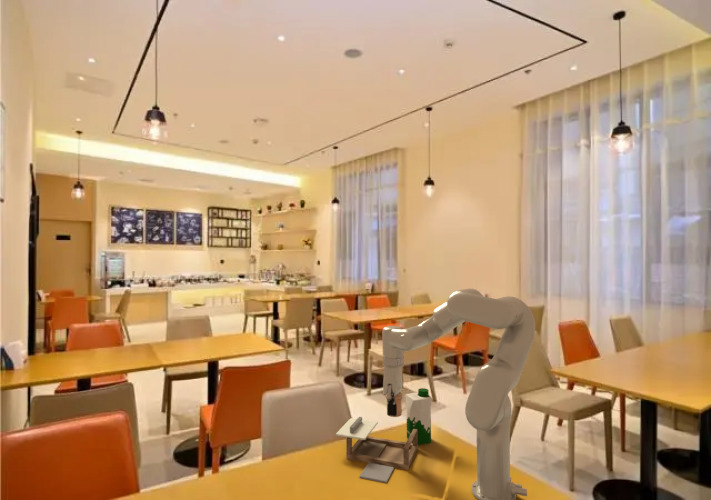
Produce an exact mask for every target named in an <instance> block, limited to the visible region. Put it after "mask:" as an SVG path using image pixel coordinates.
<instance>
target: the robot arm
mask: <svg viewBox="0 0 711 500" xmlns="http://www.w3.org/2000/svg"><path fill="white" fill-rule="evenodd" d="M465 322H468V323H471V324H474V325H479V326H483V327H486V328H489V329H494V330H503V333H502V335H501V336H500V337H501V338H500V339H499V342H498V344H497V345H498V346H497V347H496V350H495V352H494V355H493V357H492V358H491V360H489V361H488V362H486V363H484V364H483V365H482V366H480V369H479V370H478V371H477V373H476V375H475V377H474V380H473V383H472V386H471V388H470V392H469V394H468V397H467V401H466V403H465V407H464V409H465V411H464V412H465V416H466V420H467V421H468V424H469V425H470V426H471V427H472V428H473V429H475V430H476V480H475V481H474V482H473V483H472V484H471V492H472V494H473V496H474V497H475V498H476V499H477V500H516V499H517V495H520V496H523V497H528V491H527V490H528V489H527V488H524V487H523V485H522V484H520V483H514V482H513V481H512V477H511V453H510V452H511V451H510V450H511V447H510V446H511V443H510V442H511V439H510V438H511V431H510V430H511V420H512V402H511V398H510V397H509V393H510V392H511V391H513V390H514V388H516V387H517V385H518V384H519V383H520V379H521V376H522V373H523V370H524V367H525V365H526V362H527V359H528V356H529V353H530V350H531V348H532V345H533V342H534V339H535V334H536V320H535V317H534V314H533V312H532V310H531V308H530V307H529V306H528V304H526V303H525V302H524V301H523V300H522V299H520V298H518V297H514V296H503V297H502V296H501V297H499V298H492V297H489V296H484V295H483V294H482V292H480V291H479V290H477V289H475V288H464V289H459V290H455V291H454V292H452V293H451V294H450V295H449V296H448V298H447V301H445V302H443V303H442V304H440V305H438V306H437V307H435V308H434V309H433V311H432V315H431V317H428V318H427V319H425V320H423V322H421V323H420V324H418V325H414V326H410V327H408V328H407V327H406V328H402V327H401V326H397V325H388V326H387V325H386V326H384V327H383V328H382V332H381V333H382V335H381V337H382V366H383V367H384V368H383V382H382V394H383V395H384V396H386V394H387V399H386V414H387V413H388V415H391V416H396V415H397V404H396V395H398V393H401V391H402V389H403V367H404V366H405V357H404V352H410V351H413V350H416V349H419V348H422V347H425V346H427V345H429V344H430V343H432V342H434V341H436V340H438V339H439V338H441V337H443V336H444V335H445V334H448V333H449V332H450V331H452V330H454V329H455V328H456V327H458V326H460V325H462V324H463V323H465ZM392 393H394V395H391V394H392ZM392 397H394V400H393V398H392ZM388 415H387V416H388Z"/></svg>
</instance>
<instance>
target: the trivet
mask: <svg viewBox="0 0 711 500" xmlns="http://www.w3.org/2000/svg"><path fill="white" fill-rule="evenodd" d="M394 469H395V467H390V466H384V465H379V464H374V463H368V462H367V464H366V466H365V467H364V469H363V471H362V472H361V473H360V475H359V478H360V479H364V480H370V481H375V482H380V483H384V484H387V483H388V481H389V479H390V478H391V476H392V474H393V471H394Z"/></svg>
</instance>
